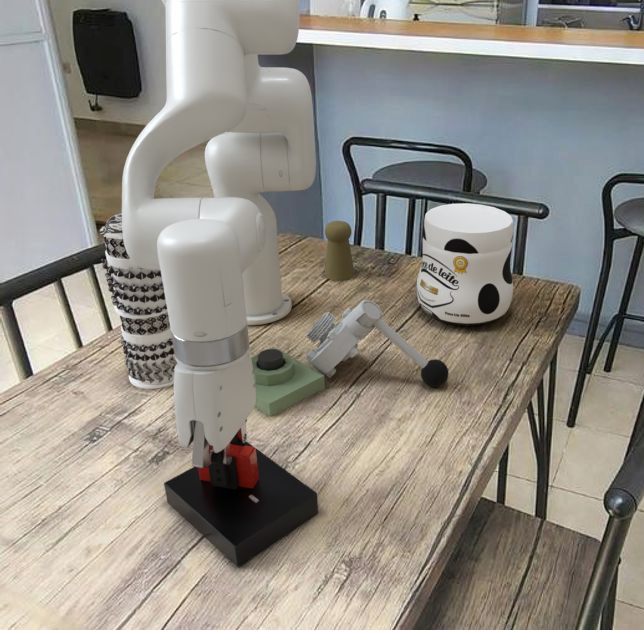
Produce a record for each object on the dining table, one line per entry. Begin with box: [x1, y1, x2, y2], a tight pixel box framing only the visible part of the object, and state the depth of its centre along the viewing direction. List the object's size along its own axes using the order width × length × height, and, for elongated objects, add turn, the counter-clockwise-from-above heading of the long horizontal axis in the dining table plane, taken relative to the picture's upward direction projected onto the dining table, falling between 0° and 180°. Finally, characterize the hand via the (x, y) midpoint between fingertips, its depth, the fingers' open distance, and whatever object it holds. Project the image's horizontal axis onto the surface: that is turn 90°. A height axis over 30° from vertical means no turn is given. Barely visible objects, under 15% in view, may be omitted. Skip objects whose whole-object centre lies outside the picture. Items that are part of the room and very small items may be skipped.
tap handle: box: [198, 444, 259, 489], centre depth 78 cm, size 6×2×5 cm, turn 78°
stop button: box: [257, 348, 284, 371], centre depth 99 cm, size 4×4×2 cm
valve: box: [304, 299, 450, 388], centre depth 103 cm, size 10×20×15 cm
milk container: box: [415, 202, 514, 327], centre depth 120 cm, size 17×17×18 cm
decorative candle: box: [99, 212, 177, 390], centre depth 98 cm, size 9×9×25 cm
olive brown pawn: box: [324, 220, 355, 282], centre depth 135 cm, size 6×6×11 cm
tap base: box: [163, 440, 319, 568], centre depth 78 cm, size 14×11×3 cm
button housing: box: [251, 346, 326, 417], centre depth 100 cm, size 12×10×4 cm
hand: (230, 477), depth 79 cm, fingers closed on tap handle, 2 cm apart
